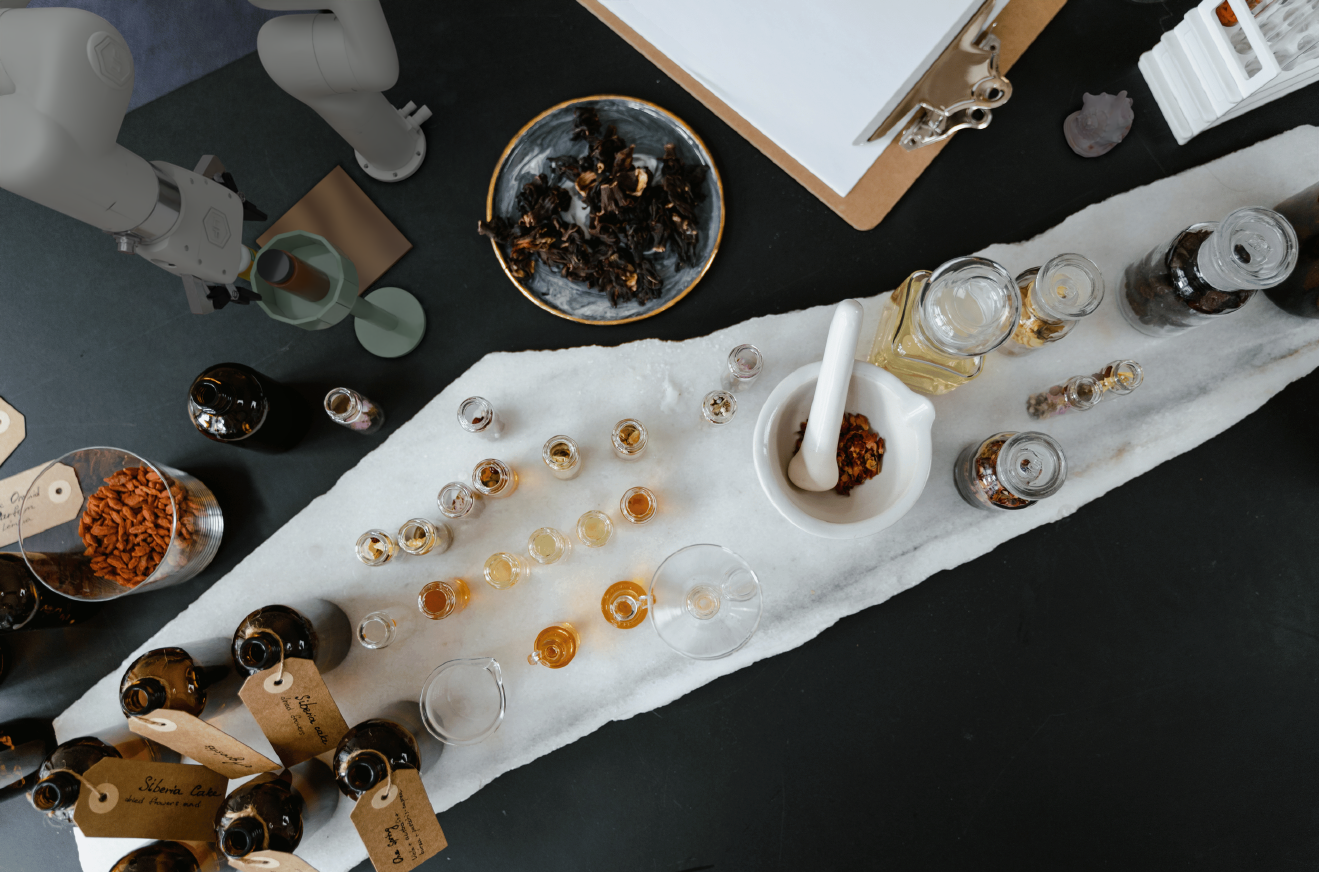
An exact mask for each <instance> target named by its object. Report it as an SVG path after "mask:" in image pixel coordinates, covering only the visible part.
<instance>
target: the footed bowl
mask: <svg viewBox="0 0 1319 872" xmlns="http://www.w3.org/2000/svg"><path fill="white" fill-rule="evenodd" d="M269 249H278V250H285V251H288V252H289V253H291V254H293V255H295V256H297V257H299V258H300V259H302V260H304V261H306V262H308V263H310V264H312V265H313V266H315V267H317V268H319V269H321V270H323V271H324V272H325V273H326V274H327V275H328V277H329V280H330V289H329V292H328V294H327V295H326V296H325V297H324V298H323V299H322V300H320V301H317V302H308V301H305V300H303V299H301V298H299V297H296V296H294V295H292V294H289V293H287V292H285V291H282V290H280V289H278V288H276V287H273V286H271V285H269V284H268V283H266V282H265V281H264V279H262V278H261V277H260V275H259V274H258V272H257V267H256V265H257V260H258V258H259V256H260V255H261V254H262V253H263V252H264V251H266V250H269ZM257 252H259V253H257V255H256V258H255V261H254V264H253V267H252V270H251V273H250V275H251V276H250V280H251V282H250V284H251V289H252V290H251V291H254V292H256V293H258V294H261V296H262V301H255V302H256V303H257V304H258V306H260V308H261V309H262V310H263V311H264V312H265V314H267V316H269V318H271V319H273V320H276V321H279V322H281V323H284V324H287V325H289V326H293V327H296V328H298V329H299V328H300V329H303V330H306V331H319V330H325V329H329V328H331V327H333V326H335V325H338V323H341V322H342V321H343V320H345V318H346V317H347V316H348V315H351V316H353V317H354V330H355V335H356V337H357V339H358V341H359V343H360V344H361V345H362V347H363V348H364V349H365V350H367V351H368V352H369V353H371V354H373V355H375V356H377V357H381V358H385V359H396V358H400V357H405V356H406V355H408V354H410V353H412V351H414V350H415V349H416V348H417V347H418V346H419V345H420V343H421V342H422V340H423V338H424V336H425V333H426V329H427V317H426V312H425V310H424V309H425V308H424V307H423V305H422V303H421V302H420V301H419V299H418V298H417V297H416V296H415V295H414V294H412V293H411V292H409V291H407V290H406V289H402V288H400V287H395V286H394V287H393V286H385V287H381V288H378V289H376V290H373V291H372V292H370V293H368V295H366V296H365V297H364V298H363V296H361V295H360V296H358V291H359V279H358V274H357V270H356V268H355V266H354V264H353V262H352V260H351V259H350V258H349V257H348V255H346V254H345V253H344V252H343V251H342V250H341V249H340V247H338V246H337V245H335V244H334V243H332V242H331V241H329V240H327V239H326V238H324V237H323V236H320V235H316V234H313V233H310V232H306V231H303V230H296V231H292V232H287V233H283V234H279V235H277V236H275V237H273V238H272V239H271V240H270V241H269V242H268V243H267V244H266V245H265V246H264V247H263V248H261V247H260V249H259V250H258V251H257Z"/></svg>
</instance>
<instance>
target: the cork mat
mask: <svg viewBox="0 0 1319 872" xmlns="http://www.w3.org/2000/svg"><path fill="white" fill-rule="evenodd" d="M296 230H303V231H306V232H310V233H313V234H316V235H320V236H323V237H324V238H326V239H327V240H329V241H331V242H332V243H334V244H335V245H337V246H338V247H340V249H341V250H342V251H343V252H344V253H345V254H346V255H348V257H349V258H350V259H351V260H352V262H353V264H354V266H355V268H356V270H357V274H358V279H359V291H358V296H360V297H361V296H362V295H363V294H364V293H365V292H366V291H367V290H369V288H370V287H371V286H373V285H374V284H375V283H376V282H377V281H378V280H379V279H381V277H382V276H384V275H385V274H386V273H387V272H388V271H389V270H390V269H391V268H392V267H393V266H394V265H395V264H397V263H398V262H399V261H400V260H401V259H402V258H403V257H404V256H406V254H408V253H409V251H411V250H412V249H413V248H414V244H412V243H411V242H410V241H409V239H407V238H406V237H405V235H404V234H403V233H402V232H401V231H400V230H399V229H398V227H396V225H394V223H393V222H392V221H391V220H390V219H389V218H388V217H387V216H386V215H385V214H384V212H383V211H382V210H381V209H380V208H379V207H378V205H376V204H375V202H374V201H373V200H372V199H371V198H370V196H368V195H367V194H366V193H365V192H364V191H363V189H362V188H361V187H360V186H359V185H358V184H357V183H356V182H355V181H354V179H352V177H351V176H350V175H349V173H347V172H346V171H345V170H344V169H343V168H342V166H340V164H338V165H337V166H336V167H334V168H333V169H332V170H331V171H329V173H328V174H327V175H326V176H325V177H324V178H322V179H321V180H320V181H319V182H318V183H317V184H316V185H315V186H314V187H313V188H311V190H309V191H308V192H307V193H306V194H305V195H304V196H303V197H302V198H300V199H299V200H298V201H297V202H296V203H295V204H294V205H293V206H292V207H291V208H290V209H288V210H287V211H286V212H285V213H284V214H283V215H282V216H281V217H280V218H279V219H278V220H276V222H275V223H274V224H272V225H271V226H270V227H268V229H267V230H266V231H265V232H264V233H262V234H261V235H260V236H259V237H258V238H257V239H256V240H255V242H256V244H258V245H259V247H260V249H261V248H263V247H264V246H265V245H266V244H267V243H268V242H269V241H270V240H271V239H272V238H273V237H275V236H277V235H279V234H283V233H287V232H292V231H296Z"/></svg>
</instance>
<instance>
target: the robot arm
mask: <svg viewBox="0 0 1319 872" xmlns="http://www.w3.org/2000/svg"><path fill="white" fill-rule="evenodd" d="M31 1H32V0H0V188H1V189H4V190H6V191H8V192H10V193H13V194H14V195H18V196H19V197H22V198H24V199H26V200H30V201H32V202H33V203H36V204H39V205H41V206H44V207H47V208H49V209H51V210H54V211H57V212H58V213H61V214H64V215H65V216H68V217H71V218H73V219H76V220H78V221H80V222H83V223H85V224H88V225H90V226H92V227H95V228H98V229H99V230H101V231H102V233H104V234H106V235H108V236H111V237H113V239H114V240H115V244H117V248H116V249H117V250H116V251H117V252H118V253H120V254H123V255H128V256H135V255H139V256H140V257H141V258H143V259H145V260H146V261H148V262H150V263H151V264H154V265H155V266H157V267H158V268H161V269H162V270H164V271H166V272H169V273H170V274H173V275H175V276H177V277H180V278H181V281H182V283H183V288H184V291H185V295H186V298H187V302H188V305H189V309H190V312H191V314H193V315H208V314H211V313H214V312H216V311H218V310H219V311H221V310H223V309H224V308H225V307H226V306H227V305H228V304H229V303H233V304H237V305H241V306H250V305H251V303H250V302H256V301H262V296H261V294H258V293H256V292H254V291H253V290H251V289H248V288H246V287H244V286H240V285H236V286H235V284H234V282H235V281H236V280H237V278H238V276H237V275H238V272H239V266H240V255H241V244H242V241H243V225H244V223H243V222H244V221H245V222H267V220H268V218H269V215H268V214H267V213H265V212H263V210H260V209H259V208H258V207H257V205H256V204H254V203H252V202H251V201H249V200H248V199H246V198H247V197H246V194H245V193H244V191H242V190H239V189H238V187H237V184H236V182H235V179H234V177H233V175H232V173H231V172H229V171H227V170H226V167H225V165H224V164H223V163H222V161H221V160H220V158H219V156H218V155H216V154H203V155H202V156H201V157H200V159H199V161H198V162H197V164H196V166H195V168H194V169H193V170H189V169H187V168H185V167H182V166H179V165H177V164H174V163H170V162H168V161H164V160H150V161H149V160H147V159H145V158H144V157H142V156H140V155H138V153H137V154H136V153H134V151H131V150H129V149H128V148H127V147H125V146H123V145H121V144H120V143H118V142H117V139H118V136H119V134H120V130H121V128H122V124H123V122H124V119H125V117H126V114H127V112H128V109H129V105H130V103H131V100H132V96H133V92H134V86H135V77H136V75H135V74H136V73H135V72H136V71H135V70H136V69H135V62H134V59H133V54H132V52H131V49H130V47H129V45H128V43H127V41H126V39H125V38H124V36H123V35H122V33H120V31H119V30H118V29H117V27H115V26H114V25H113V24H111V23H110V22H109V21H108V20H107V19H105V18H104V17H103V16H100V15H99V14H97V13H95V12H92V11H89V10H86V9H82V8H77V7H65V6H49V7H48V6H46V7H45V6H44V7H28V6H29V4H30V3H31ZM247 1H248V3H249V4H251V5H252V6H253V7H256V8H258V9H262V10H267V11H279V12H281V11H283V12H284V11H285V12H286V11H313V10H315V11H316V10H329V11H331V12H332V13H323V12H322V13H321V12H318V13H317V12H316V13H315V12H314V13H293V14H285V15H278V16H276V17H273V18H271V19H268V20H267V21H266V22H265V23H263V24H262V26H261V27H260V29H259V31H258V33H257V37H256V49H257V54H258V57H259V60H260V62H261V64H262V66H263V68H264V70H265V72H266V73H267V75H268V76H269V78H270V79H271V80H272V81H273V82H274V83H275V84H276V85H277V86H278V87H279V88H280V89H281V90H283V91H284V92H285V93H287V94H288V95H289V96H292V97H293V98H295V99H296V100H298V101H300V102H301V103H303V104H305V105H307V106H308V107H309V108H310V109H312V110H313V111H314V112H315V113H316V114H318V115H319V116H320V117H321V118H322V119H323V120H324V121H325V122H326V123H327V124H328V125H329V126H330V127H331V128H332V129H333V130H334V131H335V132H336V133H337V134H339V135H340V136H341V137H342V139H343V140H344V141H346V143H348V145H350V146H351V147H352V148H353V149H354V155H355V159H356V161H357V164H359V166H360V168H361V169H362V170H363V171H364V173H366V174H367V175H369V176H370V177H371V178H373V179H375V180H377V181H380V182H383V183H396V182H400V181H403V180H406V179H407V178H409V177H411V176H412V175H413V174H415V173H416V172H417V171H418V170H419V168H420V167H421V166H422V164H423V162H424V160H425V157H426V153H427V141H426V135H425V134H424V131H423V129H422V128H421V125H422V124H423V123H424V122H426V121H427V120H428V119H429V118H430V117H432V116H433V113H432V111H431V110H430V109H429V107H428V106H427V105H426V104H424V105H422V106H421V107H419V109H418V110H416V109H417V108H418V106H417V104H415V103H414V102H413V101H412V100H410V101H409V102H408V103H406V104H405V106H404V107H403V108H399V109H397V108H396V107H395V106H394V105H393V104H391V102H390V101H389V100H388V99H387V98H386V96H385V95H384V94H383V93H382V92H384V91H388V90H390V89H392V88H393V87H394V86H395V85H396V84H397V81H398V79H399V77H400V76H399V75H400V63H399V57H398V53H397V48H396V45H395V42H394V38H393V36H392V33H391V30H390V27H389V25H388V22H387V19H386V16H385V13H384V11H383V8H382V5H381V2H380V0H247ZM415 110H416V112H415V113H414V114H413V115H412V116H411V115H410V114H411V113H413V112H414V111H415ZM216 284H219V285H216Z"/></svg>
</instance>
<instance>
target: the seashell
mask: <svg viewBox="0 0 1319 872" xmlns="http://www.w3.org/2000/svg"><path fill="white" fill-rule="evenodd" d="M1127 95H1128V91H1127V90H1121V91H1120V92H1118V94H1117V95H1114V94H1108V93H1106V92H1105V91H1104V92H1101V93H1100V94H1097V95H1094V94H1090V93H1089V92H1085V93H1084V94H1083V95H1082V101H1083V106H1082V107H1081V109H1080V110H1076V111H1074V112H1072V113H1071V114H1070V115H1068V116H1067V117H1066V119H1065V120H1064V122H1063V133H1064V136H1065V140H1066V142H1067V144H1068V145H1069V148H1071V149H1072V151H1073V152H1074V153H1075V154H1077V155H1079V156H1081V157H1084V158H1097V157H1100V156H1103V155H1104V154H1106V153H1108V152H1109V151H1111V150H1112V149H1113V148H1114V147H1115V146H1116V145H1118V144H1120V143H1122V141H1123V140H1124V139H1125V137H1126V136H1127V135H1128V133H1130V130H1131V127H1132V124H1133V120H1134V118H1135V114H1134V111H1133V109H1132V106H1133V103H1134V100H1133V98H1132V97H1127Z"/></svg>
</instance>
